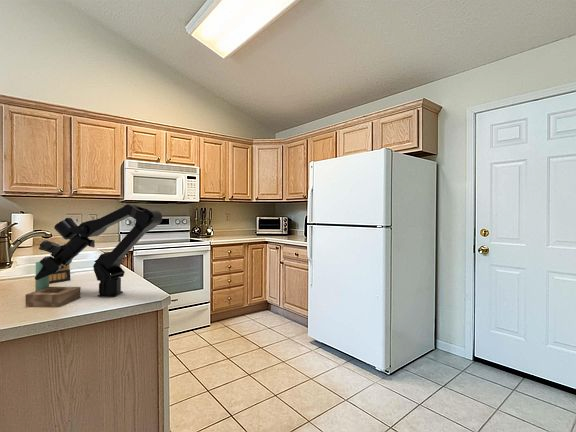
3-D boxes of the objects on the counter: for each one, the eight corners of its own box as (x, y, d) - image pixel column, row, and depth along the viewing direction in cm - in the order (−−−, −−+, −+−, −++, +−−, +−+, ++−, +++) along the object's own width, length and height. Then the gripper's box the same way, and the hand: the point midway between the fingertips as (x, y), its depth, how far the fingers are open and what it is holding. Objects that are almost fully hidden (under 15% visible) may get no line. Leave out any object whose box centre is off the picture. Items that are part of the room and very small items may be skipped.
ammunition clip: (43, 284, 134) (43, 256, 133) (41, 284, 134) (41, 256, 134) (70, 280, 143) (70, 254, 143) (68, 279, 144) (68, 253, 144)
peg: (51, 294, 119) (51, 261, 119) (43, 297, 115) (44, 263, 115) (40, 294, 119) (41, 261, 119) (32, 296, 115) (32, 262, 115)
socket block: (80, 297, 115) (80, 286, 115) (59, 306, 104) (59, 294, 104) (49, 297, 115) (49, 286, 115) (25, 306, 104) (25, 294, 104)
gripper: (62, 231, 127) (28, 259, 123) (47, 234, 110) (7, 267, 106) (85, 250, 130) (52, 278, 126) (73, 256, 113) (35, 289, 109)
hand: (37, 278), depth 116 cm, fingers closed on peg, 4 cm apart
